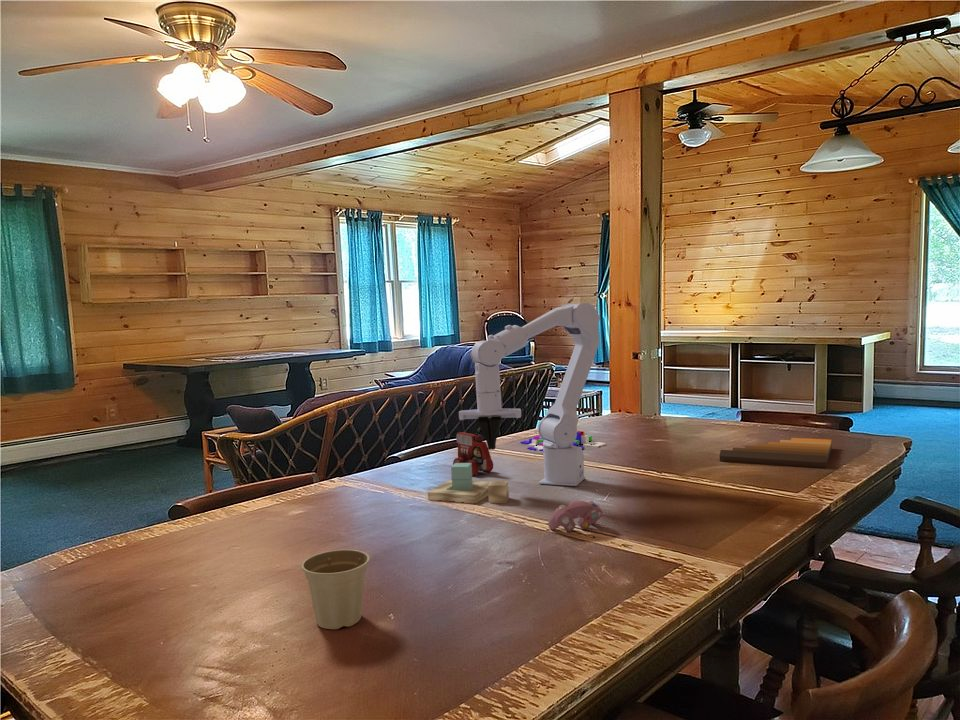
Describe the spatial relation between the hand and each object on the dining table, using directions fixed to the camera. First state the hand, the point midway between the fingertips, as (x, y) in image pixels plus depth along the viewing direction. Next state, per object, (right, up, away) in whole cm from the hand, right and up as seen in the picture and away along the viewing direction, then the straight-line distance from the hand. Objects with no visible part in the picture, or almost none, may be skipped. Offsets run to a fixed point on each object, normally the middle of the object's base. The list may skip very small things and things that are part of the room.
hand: (491, 448), depth 161 cm
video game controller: (+16, -12, -30) cm, 36 cm away
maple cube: (+1, -11, -7) cm, 13 cm away
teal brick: (-7, -10, -1) cm, 12 cm away
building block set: (+22, -6, +50) cm, 55 cm away
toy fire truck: (-4, -9, +20) cm, 23 cm away
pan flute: (+77, -5, +23) cm, 81 cm away
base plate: (-7, -11, -1) cm, 13 cm away
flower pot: (-23, -16, -64) cm, 70 cm away
